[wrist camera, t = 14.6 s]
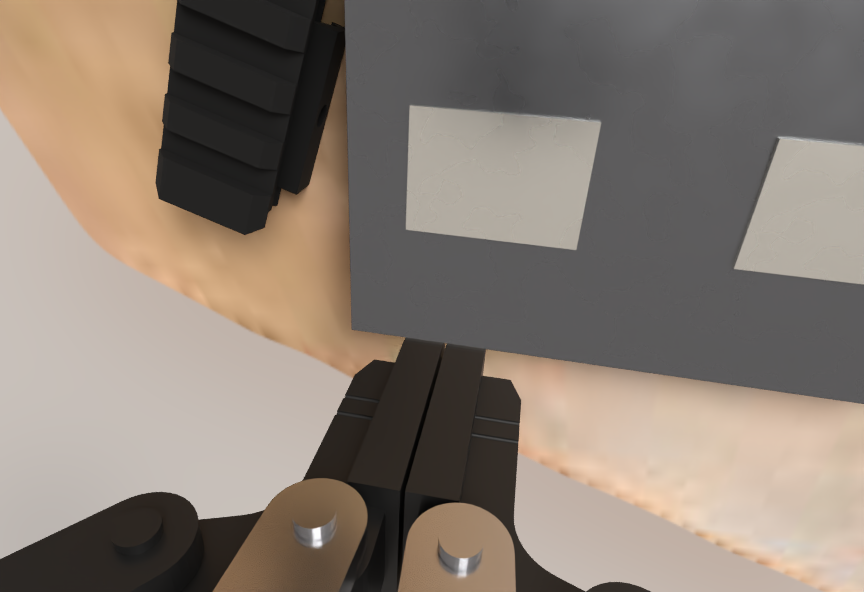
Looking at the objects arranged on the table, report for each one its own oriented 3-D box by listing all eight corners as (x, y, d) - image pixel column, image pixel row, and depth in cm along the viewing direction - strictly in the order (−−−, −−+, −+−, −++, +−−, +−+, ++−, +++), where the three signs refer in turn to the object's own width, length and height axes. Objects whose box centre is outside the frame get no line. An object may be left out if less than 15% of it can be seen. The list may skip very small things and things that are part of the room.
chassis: (374, 290, 30) (350, 331, 26) (374, -64, 22) (341, -74, 19) (998, 374, 26) (1070, 436, 22) (1267, -19, 18) (1445, -21, 15)
